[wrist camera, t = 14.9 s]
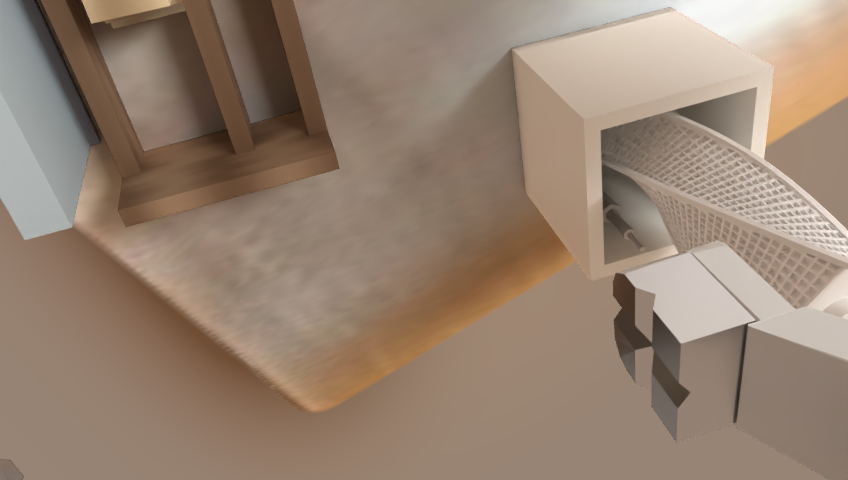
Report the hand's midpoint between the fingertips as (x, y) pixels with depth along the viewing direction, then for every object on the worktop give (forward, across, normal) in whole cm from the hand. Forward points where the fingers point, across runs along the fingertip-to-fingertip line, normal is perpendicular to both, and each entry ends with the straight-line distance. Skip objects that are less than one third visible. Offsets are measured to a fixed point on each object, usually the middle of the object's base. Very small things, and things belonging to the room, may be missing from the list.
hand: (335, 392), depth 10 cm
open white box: (+41, -22, +20) cm, 51 cm away
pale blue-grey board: (+41, +14, +6) cm, 43 cm away
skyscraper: (+40, -22, +20) cm, 50 cm away
